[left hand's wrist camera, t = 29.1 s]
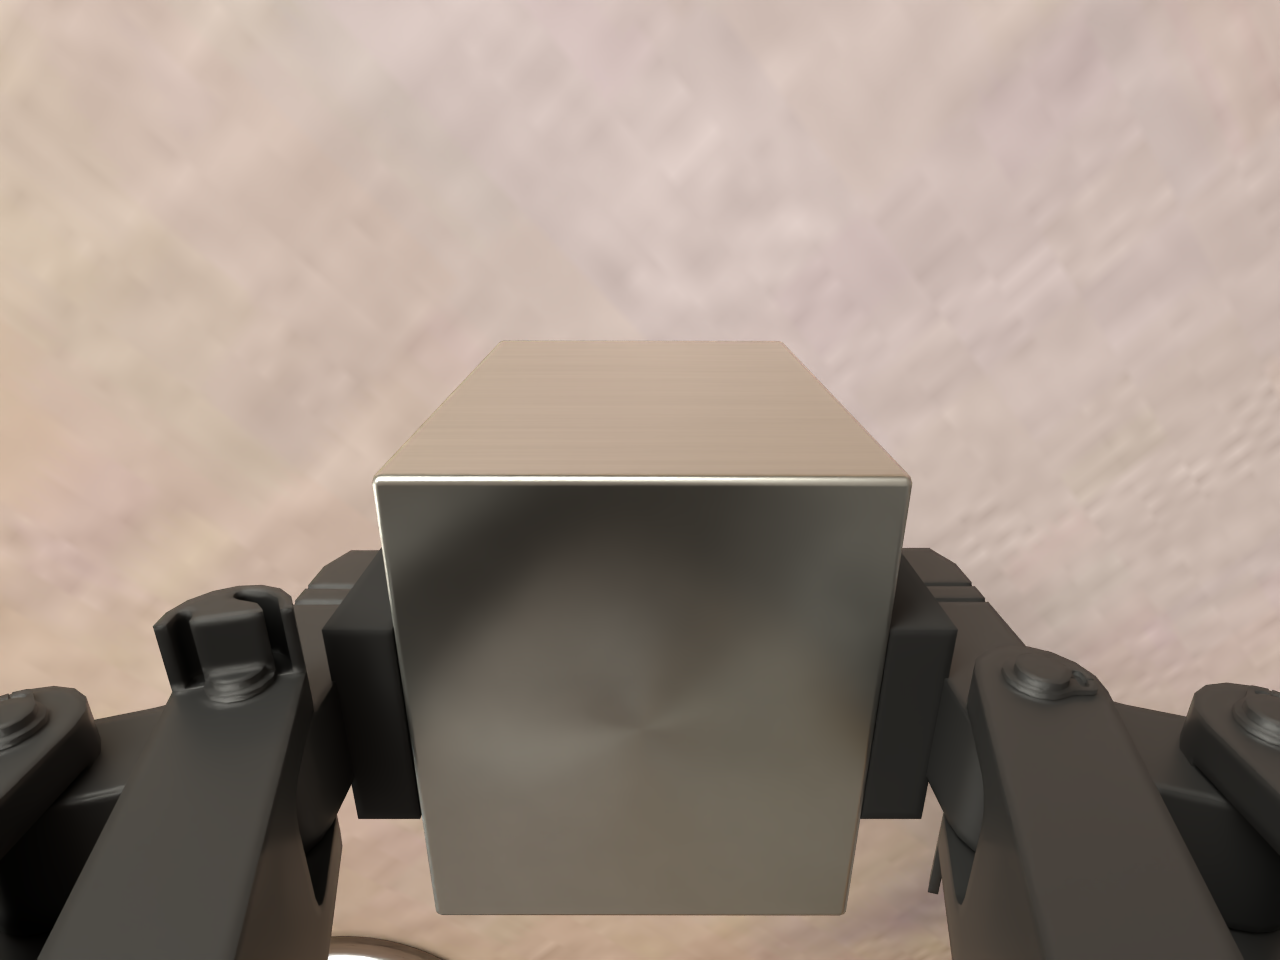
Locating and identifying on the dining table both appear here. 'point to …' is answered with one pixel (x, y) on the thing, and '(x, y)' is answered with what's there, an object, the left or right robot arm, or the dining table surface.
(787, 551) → the block
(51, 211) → the dining table surface
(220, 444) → the dining table surface
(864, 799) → the left robot arm
